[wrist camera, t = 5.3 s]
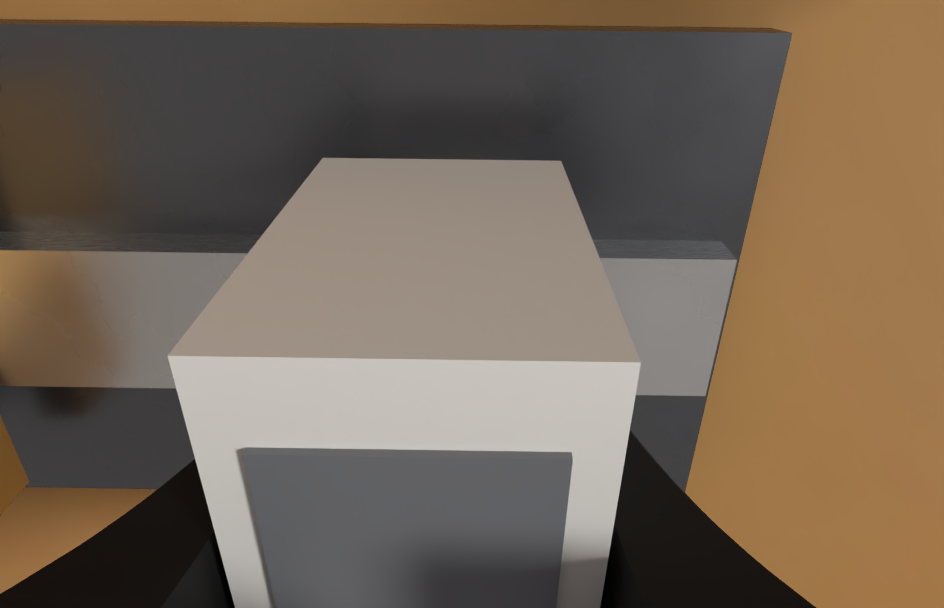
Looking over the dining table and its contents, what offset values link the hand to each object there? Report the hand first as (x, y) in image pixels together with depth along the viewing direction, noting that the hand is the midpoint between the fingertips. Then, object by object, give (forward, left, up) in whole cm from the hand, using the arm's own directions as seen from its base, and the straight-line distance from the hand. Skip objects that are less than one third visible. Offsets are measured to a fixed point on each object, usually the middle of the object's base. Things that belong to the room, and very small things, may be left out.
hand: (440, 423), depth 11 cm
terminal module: (0, 0, -2) cm, 2 cm away
